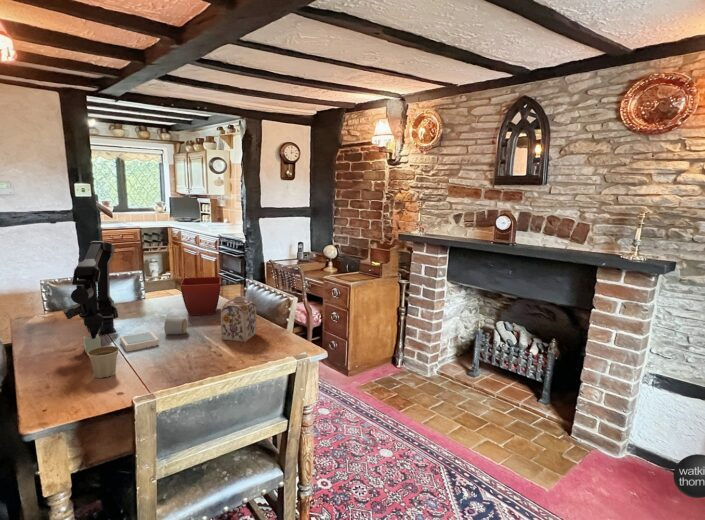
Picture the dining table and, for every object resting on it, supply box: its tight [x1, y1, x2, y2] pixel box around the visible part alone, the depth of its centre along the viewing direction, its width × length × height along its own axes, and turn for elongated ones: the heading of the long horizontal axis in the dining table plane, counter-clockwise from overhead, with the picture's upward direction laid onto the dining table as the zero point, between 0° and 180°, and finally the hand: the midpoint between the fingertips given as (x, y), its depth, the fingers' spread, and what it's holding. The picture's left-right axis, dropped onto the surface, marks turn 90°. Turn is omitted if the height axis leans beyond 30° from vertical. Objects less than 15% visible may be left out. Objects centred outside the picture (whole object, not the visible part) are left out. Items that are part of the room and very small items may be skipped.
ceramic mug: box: [163, 316, 188, 335], centre depth 185 cm, size 11×8×8 cm
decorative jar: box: [220, 295, 258, 343], centre depth 181 cm, size 12×12×18 cm
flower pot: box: [86, 345, 120, 379], centre depth 142 cm, size 9×9×9 cm
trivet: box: [119, 330, 160, 352], centre depth 171 cm, size 12×12×3 cm
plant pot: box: [179, 276, 222, 316], centre depth 216 cm, size 19×19×17 cm
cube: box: [82, 334, 102, 354], centre depth 163 cm, size 5×5×5 cm
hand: (91, 335), depth 163 cm, fingers open, 9 cm apart
